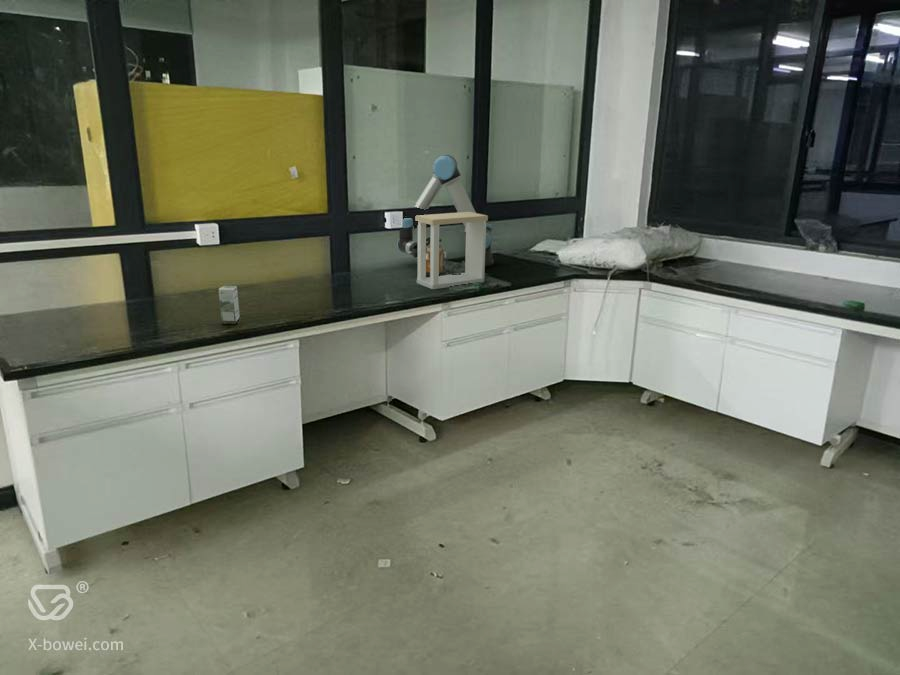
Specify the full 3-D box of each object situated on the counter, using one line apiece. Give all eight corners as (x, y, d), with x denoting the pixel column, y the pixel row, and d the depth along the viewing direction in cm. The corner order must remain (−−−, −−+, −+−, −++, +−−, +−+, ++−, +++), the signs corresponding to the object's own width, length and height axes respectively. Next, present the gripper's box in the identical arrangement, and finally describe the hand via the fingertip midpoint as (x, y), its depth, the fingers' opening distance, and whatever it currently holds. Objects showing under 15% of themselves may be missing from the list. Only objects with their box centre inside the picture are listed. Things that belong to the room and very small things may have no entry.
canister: (442, 277, 330) (442, 239, 323) (421, 277, 330) (420, 239, 323) (442, 273, 338) (443, 236, 331) (422, 272, 338) (422, 235, 332)
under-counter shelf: (467, 275, 335) (469, 211, 324) (485, 281, 323) (487, 215, 312) (415, 282, 318) (415, 215, 308) (432, 289, 306) (432, 219, 295)
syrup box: (240, 320, 253) (237, 285, 248) (236, 325, 247) (232, 289, 243) (226, 320, 253) (222, 285, 248) (221, 325, 247) (217, 289, 243)
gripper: (432, 253, 352) (454, 261, 334) (397, 257, 340) (418, 265, 322) (432, 240, 350) (455, 246, 332) (396, 243, 338) (418, 250, 320)
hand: (437, 256), depth 327 cm, fingers closed on canister, 10 cm apart
